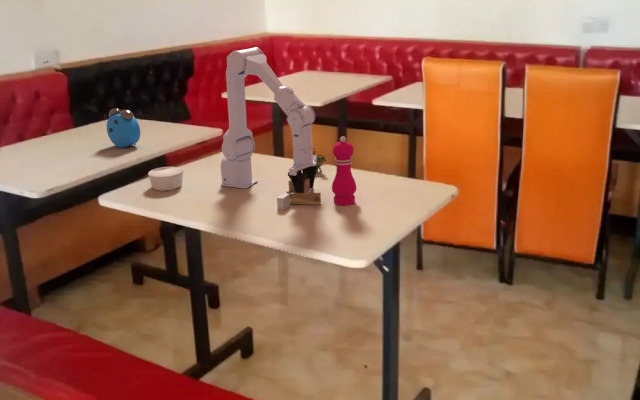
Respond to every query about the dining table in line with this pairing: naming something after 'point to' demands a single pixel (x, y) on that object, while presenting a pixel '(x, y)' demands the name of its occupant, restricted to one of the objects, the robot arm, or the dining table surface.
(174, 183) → the ramekin
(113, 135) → the alarm clock
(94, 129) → the dining table surface
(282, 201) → the wall frame
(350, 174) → the pepper mill
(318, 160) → the figurine
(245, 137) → the robot arm
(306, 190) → the block
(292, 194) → the door
